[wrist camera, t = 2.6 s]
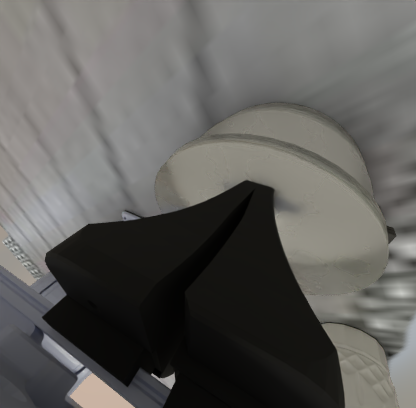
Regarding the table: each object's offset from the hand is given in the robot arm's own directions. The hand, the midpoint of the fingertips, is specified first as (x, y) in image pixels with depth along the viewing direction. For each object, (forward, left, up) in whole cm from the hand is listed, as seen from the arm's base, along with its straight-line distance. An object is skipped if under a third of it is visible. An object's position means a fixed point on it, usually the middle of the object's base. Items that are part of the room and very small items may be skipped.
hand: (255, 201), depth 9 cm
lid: (-4, 0, -2) cm, 4 cm away
